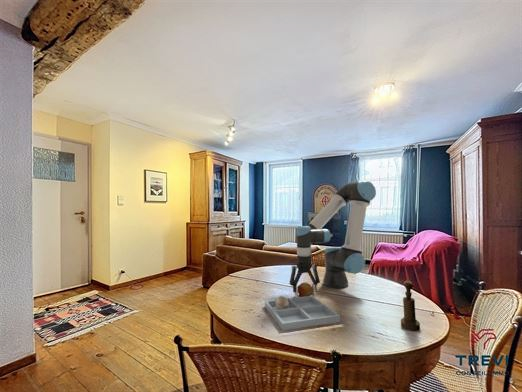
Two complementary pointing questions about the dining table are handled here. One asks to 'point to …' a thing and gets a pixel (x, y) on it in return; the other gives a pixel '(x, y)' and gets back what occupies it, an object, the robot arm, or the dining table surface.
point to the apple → (305, 289)
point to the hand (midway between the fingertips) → (305, 297)
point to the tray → (302, 313)
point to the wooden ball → (282, 303)
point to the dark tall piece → (409, 310)
